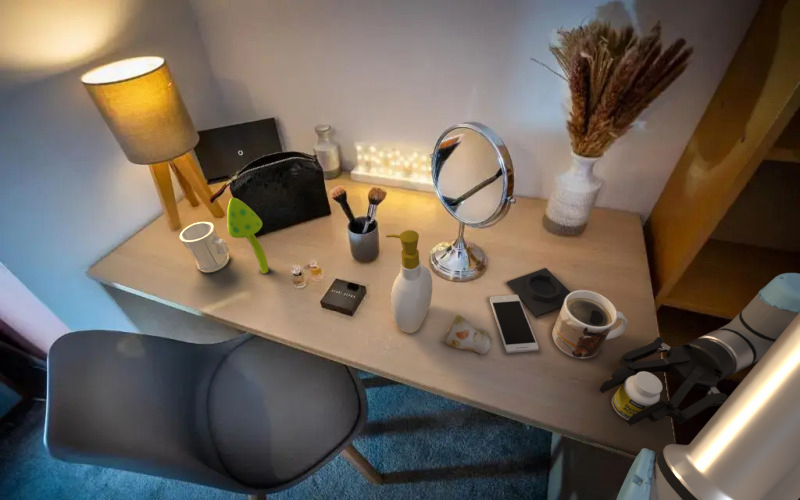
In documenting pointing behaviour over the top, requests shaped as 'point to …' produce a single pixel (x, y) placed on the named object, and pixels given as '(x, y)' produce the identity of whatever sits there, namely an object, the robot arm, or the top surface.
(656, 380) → the supplement bottle
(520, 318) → the smartphone
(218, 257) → the cup
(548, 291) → the dock pad
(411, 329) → the soap bottle
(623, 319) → the mug
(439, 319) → the top surface
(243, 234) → the mushroom
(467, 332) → the patterned beanbag
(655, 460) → the robot arm
